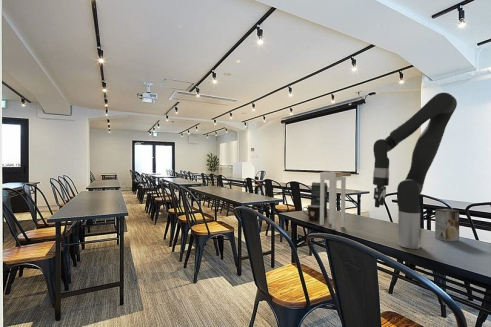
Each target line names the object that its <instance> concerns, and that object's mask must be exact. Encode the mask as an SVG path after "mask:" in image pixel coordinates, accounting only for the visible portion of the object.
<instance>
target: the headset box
mask: <svg viewBox="0 0 491 327" xmlns="http://www.w3.org/2000/svg"><path fill="white" fill-rule="evenodd" d="M328 188H329V185H328V183H327V182H324V217H326V218H328V215H327V214H328ZM310 205H318V206H320V182H316V181H315V182H314V181H313V182H311V187H310ZM319 218H320V211H319Z"/></svg>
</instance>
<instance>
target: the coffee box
mask: <svg viewBox="0 0 491 327" xmlns="http://www.w3.org/2000/svg"><path fill="white" fill-rule="evenodd" d="M434 214H435V215H434V223H435V224H434V238H435V239H436V240H439V241H443V240H444V241H443V242H453V241H460V210H457V209H450V208H439V209H438V208H436V209H434Z"/></svg>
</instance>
